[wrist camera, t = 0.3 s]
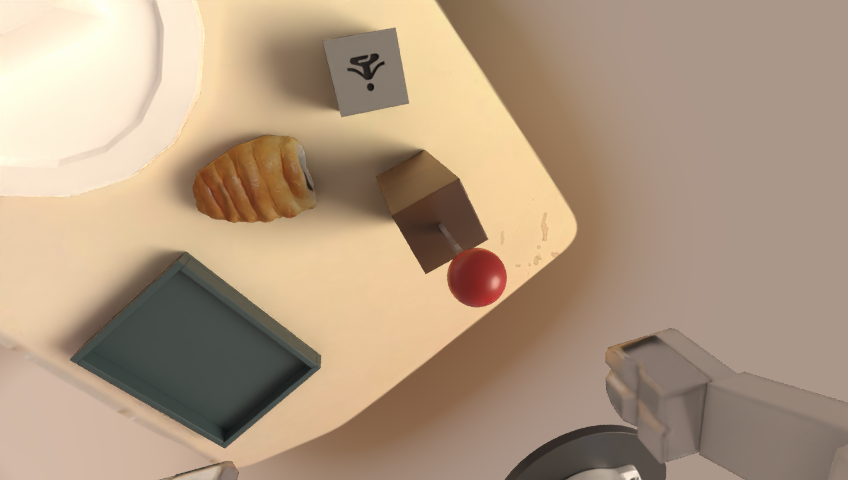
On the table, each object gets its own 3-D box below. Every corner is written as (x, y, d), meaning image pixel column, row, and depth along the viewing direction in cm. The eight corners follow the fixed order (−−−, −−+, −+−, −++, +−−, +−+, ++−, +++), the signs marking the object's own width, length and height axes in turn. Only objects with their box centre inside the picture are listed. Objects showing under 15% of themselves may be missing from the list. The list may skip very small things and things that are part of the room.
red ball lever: (448, 196, 39) (549, 304, 21) (402, 222, 39) (461, 352, 21) (425, 149, 37) (514, 223, 19) (375, 177, 37) (416, 277, 19)
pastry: (217, 232, 36) (205, 248, 32) (181, 156, 33) (163, 165, 30) (323, 201, 37) (322, 214, 33) (296, 125, 34) (292, 131, 30)
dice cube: (386, 34, 33) (395, 27, 28) (399, 99, 35) (409, 103, 30) (323, 45, 32) (322, 40, 28) (340, 111, 34) (341, 117, 30)
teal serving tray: (321, 355, 42) (320, 368, 41) (229, 433, 44) (224, 448, 42) (186, 251, 36) (178, 260, 34) (82, 346, 37) (69, 360, 35)
